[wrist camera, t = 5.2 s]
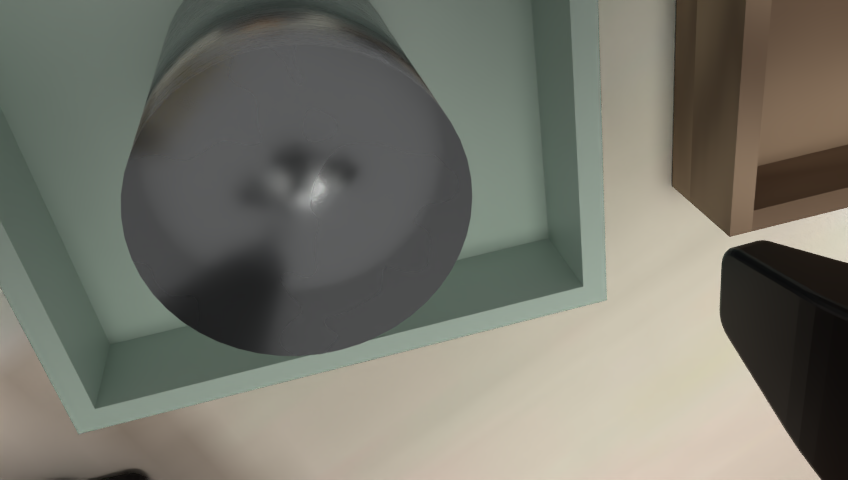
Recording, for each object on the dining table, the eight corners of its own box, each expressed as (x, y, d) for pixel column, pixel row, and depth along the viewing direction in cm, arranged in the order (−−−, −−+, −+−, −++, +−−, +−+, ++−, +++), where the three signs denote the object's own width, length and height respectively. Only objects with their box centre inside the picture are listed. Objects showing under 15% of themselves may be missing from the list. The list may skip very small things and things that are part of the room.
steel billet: (410, 153, 19) (488, 312, 13) (201, 201, 19) (184, 389, 13) (372, -66, 16) (449, 9, 10) (127, -18, 16) (62, 90, 10)
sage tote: (563, 242, 22) (606, 299, 19) (98, 356, 21) (78, 433, 18) (529, -320, 15) (588, -345, 13) (-170, -206, 14) (-262, -208, 11)
